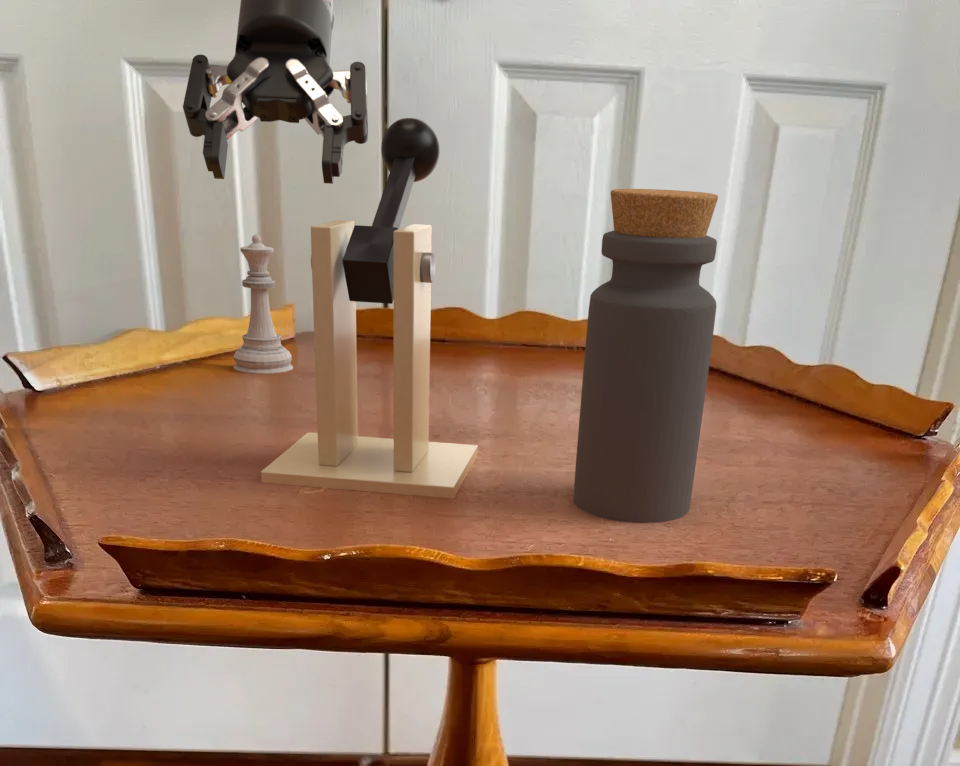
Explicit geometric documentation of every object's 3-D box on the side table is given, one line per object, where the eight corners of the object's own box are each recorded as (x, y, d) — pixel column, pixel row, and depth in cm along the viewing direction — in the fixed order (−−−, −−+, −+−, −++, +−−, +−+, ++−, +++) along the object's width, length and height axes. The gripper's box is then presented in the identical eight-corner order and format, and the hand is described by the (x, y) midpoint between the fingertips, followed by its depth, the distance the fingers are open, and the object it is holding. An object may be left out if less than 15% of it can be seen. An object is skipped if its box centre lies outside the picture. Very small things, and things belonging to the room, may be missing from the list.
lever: (391, 159, 59) (384, 104, 56) (446, 162, 58) (441, 106, 55) (340, 307, 51) (330, 252, 49) (403, 311, 51) (396, 255, 48)
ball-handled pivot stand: (308, 452, 60) (298, 215, 54) (477, 465, 59) (486, 224, 53) (261, 494, 53) (245, 226, 47) (453, 510, 51) (460, 237, 46)
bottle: (609, 541, 48) (643, 194, 42) (551, 502, 53) (574, 186, 46) (711, 527, 50) (759, 196, 44) (647, 491, 55) (682, 188, 49)
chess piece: (227, 380, 76) (217, 235, 71) (242, 368, 80) (233, 230, 75) (286, 383, 76) (280, 238, 71) (298, 371, 79) (293, 233, 75)
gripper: (189, -30, 81) (168, 131, 76) (370, -22, 81) (361, 139, 76) (209, 52, 88) (190, 205, 83) (375, 59, 89) (367, 211, 83)
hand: (272, 173), depth 79 cm, fingers open, 8 cm apart
